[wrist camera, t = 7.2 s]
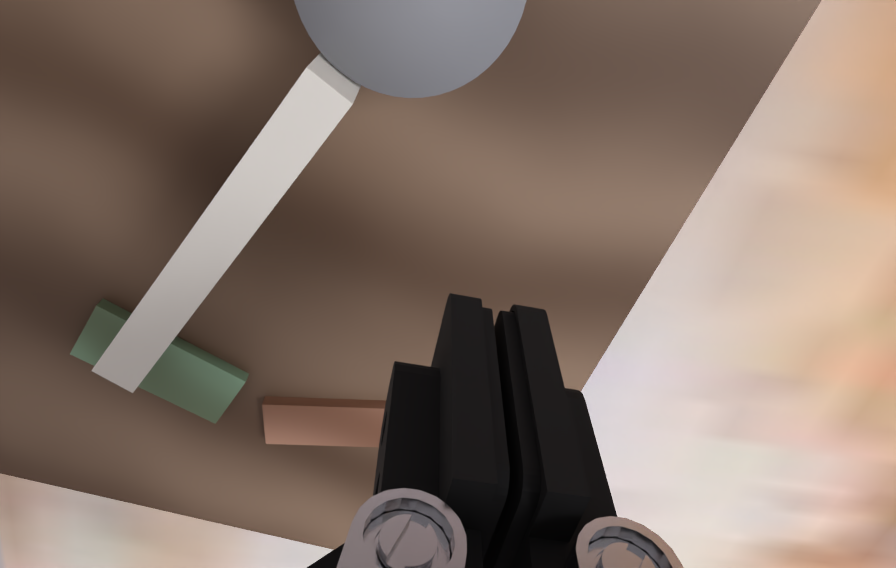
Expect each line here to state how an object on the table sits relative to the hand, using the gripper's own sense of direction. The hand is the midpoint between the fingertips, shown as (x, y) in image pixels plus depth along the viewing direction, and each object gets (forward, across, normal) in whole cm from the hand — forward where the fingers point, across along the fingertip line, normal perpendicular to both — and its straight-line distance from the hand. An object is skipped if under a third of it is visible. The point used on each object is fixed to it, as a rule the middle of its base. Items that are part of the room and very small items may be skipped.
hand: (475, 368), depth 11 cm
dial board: (+8, +3, +1) cm, 9 cm away
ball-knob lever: (+6, +5, 0) cm, 8 cm away
